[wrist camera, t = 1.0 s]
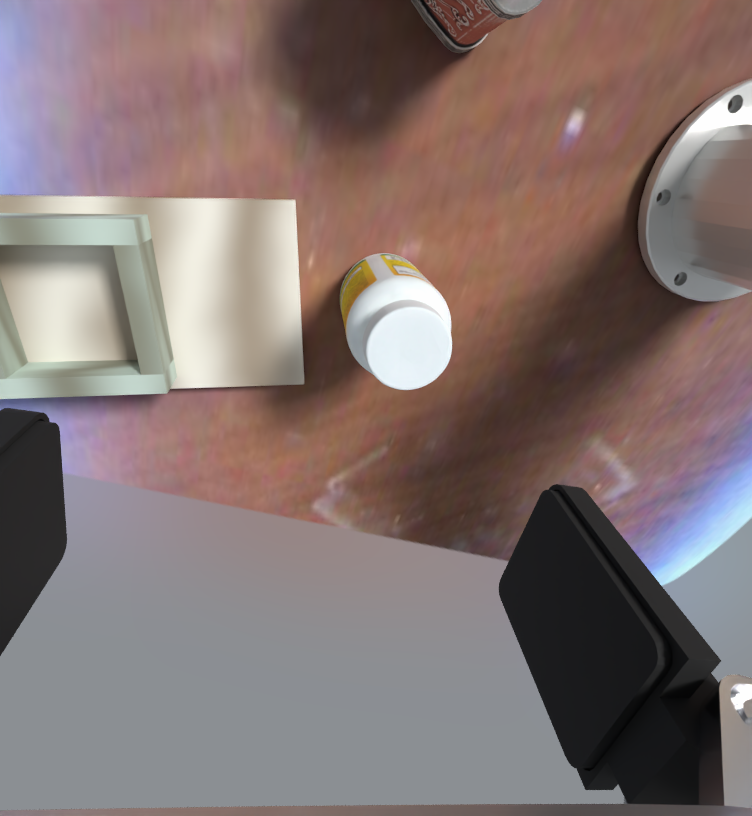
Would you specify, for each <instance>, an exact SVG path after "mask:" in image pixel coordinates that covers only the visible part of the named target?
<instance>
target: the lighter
mask: <svg viewBox="0 0 752 816" xmlns="http://www.w3.org/2000/svg"><path fill="white" fill-rule="evenodd" d="M411 1H412V3H413V4H414V6H415V7H416V9H417V11H418V12H419V14H420V15H421V17H422V18H423V20H424V21H425V23H426V24H427V25H428V26H429V27H430V29H431V30H432V31H433V32H434V33H435V35H436V36H437V37H438V38H439V39H440V41H441V42H442V43H443V44H444V45H445V47H446V48H448V49H449V50H450V51H452V52H456V53H463V52H467V51H469V50H471V49H472V48H474V47H475V46H477V45H478V44H480V43H481V42H482V41H483V40H484V39H485V37H486V36H487V35H488V33H489V32H490V31H492V30H493V29H495V28H496V27H498V26H499V25H501V24H502V23H504V22H505V21H507V20H510V19H514V18H519V17H521V16H522V15H524V14H525V13H527V12H528V11H530V10H531V9H533V8H534V7H536V6H537V5H539V3H540V2H541V1H542V0H411Z"/></svg>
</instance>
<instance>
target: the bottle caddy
mask: <svg viewBox="0 0 752 816" xmlns="http://www.w3.org/2000/svg"><path fill="white" fill-rule="evenodd" d="M301 384H304V362H303V342H302V322H301V301H300V281H299V261H298V241H297V220H296V200H295V199H240V198H178V197H115V196H52V195H0V399H18V398H48V397H77V396H107V395H136V394H166V393H168V391H169V390H170V389H178V388H209V387H240V386H270V385H301Z"/></svg>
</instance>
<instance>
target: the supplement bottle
mask: <svg viewBox="0 0 752 816" xmlns="http://www.w3.org/2000/svg"><path fill="white" fill-rule="evenodd" d="M340 308H341V312H342V317H343V322H344V327H345V332H346V337H347V341H348V345H349V348H350V350H351V352H352V354H353V356H354V357H355V359H356V360H357V361H358V363H359V364H360V365H361V366H362V367H363V368H365V369H366V370H367V371H369V372H370V373H372V374H374V376H375V377H376V378H377V379H378V380H379V381H381V382H382V383H383V384H385V385H387V386H389V387H392V388H395V389H399V390H412V389H417V388H421V387H423V386H425V385H427V384H429V383H431V382H432V381H434V380H435V379H436V378H437V377H438V376H439V375H440V374H441V373H442V372H443V371H444V369H445V368H446V366H447V364H448V362H449V360H450V356H451V352H452V338H451V316H450V312H449V309H448V306H447V304H446V302H445V300H444V298H443V297H442V295H441V294H440V293H439V292H438V291H437V289H436V288H435V287H434V286H433V285H432V284H431V283H430V282H429V281H428V280H427V279H426V278H425V277H424V276H423V275H422V274H421V272H420V271H419V270H418V269H417V268H416V267H415V266H414V265H413V264H411V263H410V262H409V261H408V260H406V259H404V258H402V257H400V256H398V255H394V254H388V253H380V254H374V255H371V256H368V257H366V258H364V259H362V260H360V261H359V262H357V263H356V264H355V265H354V266H353V267H352V268H351V270H350V271H349V272H348V274H347V275H346V277H345V279H344V281H343V283H342V286H341V291H340Z"/></svg>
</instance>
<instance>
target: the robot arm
mask: <svg viewBox="0 0 752 816" xmlns="http://www.w3.org/2000/svg"><path fill="white" fill-rule="evenodd" d="M638 240H639V245H640V250H641V254H642V258H643V260H644V262H645V264H646V266H647V268H648V270H649V272H650V274H651V275H652V276H653V277H654V278H655V279H656V281H657V282H658V283H659V284H660V285H662V286H663V287H665V288H666V289H667V290H669V291H670V292H672V293H675V294H677V295H680V296H682V297H685V298H688V299H693V300H697V301H702V302H703V301H722V300H727V299H732V298H736V297H738V296H741V295H744V294H746V293H749V292H751V291H752V78H751V79H747V80H744V81H742V82H739V83H737V84H735V85H732V86H730V87H727V88H725V89H724V90H722V91H721V92H719V93H717V94H716V95H714V96H713V97H711V98H710V99H708V100H707V101H705V102H704V103H703V104H702V105H701V106H699V107H698V108H697V109H696V110H695V111H694V112H693V113H692V114H690V115H689V116H688V117H687V118H686V119H685V120H684V122H683V123H682V124H681V125H680V126H679V128H678V129H677V130H676V131H675V132H674V133H673V135H672V136H671V137H670V139H669V140H668V142H667V143H666V145H665V146H664V148H663V150H662V151H661V153H660V154H659V156H658V157H657V159H656V161H655V164H654V166H653V168H652V170H651V172H650V175H649V177H648V179H647V182H646V185H645V188H644V192H643V195H642V199H641V202H640V210H639V217H638ZM65 520H66V519H65V504H64V489H63V474H62V459H61V444H60V431H59V427H58V425H57V424H56V423H52V422H49V418H48V416H47V415H46V414H44V413H40V412H33V411H26V410H19V409H11V408H4V409H3V410H1V411H0V656H1V654H2V652H3V651H4V649H5V648H6V646H7V645H8V643H9V641H10V640H11V638H12V637H13V635H14V634H15V632H16V630H17V629H18V627H19V626H20V624H21V623H22V621H23V620H24V618H25V616H26V615H27V613H28V612H29V610H30V609H31V607H32V605H33V604H34V602H35V600H36V599H37V598H38V596H39V594H40V593H41V591H42V590H43V588H44V587H45V585H46V583H47V582H48V580H49V579H50V577H51V576H52V574H53V572H54V571H55V569H56V567H57V566H58V565H59V563H60V561H61V560H62V557H63V555H64V552H65V549H66V544H67V534H66V521H65ZM499 595H500V598H501V601H502V603H503V606H504V608H505V611H506V613H507V615H508V618H509V620H510V623H511V625H512V628H513V630H514V632H515V635H516V637H517V640H518V642H519V644H520V647H521V649H522V652H523V654H524V657H525V659H526V662H527V664H528V666H529V669H530V671H531V674H532V676H533V678H534V681H535V683H536V685H537V688H538V691H539V693H540V696H541V698H542V700H543V703H544V705H545V707H546V710H547V713H548V715H549V717H550V720H551V722H552V725H553V727H554V730H555V732H556V734H557V737H558V739H559V742H560V744H561V746H562V749H563V751H564V754H565V756H566V758H567V760H568V762H569V763H570V764H571V766H573V767H574V768H577V771H578V773H579V776H580V778H581V780H582V783H583V785H584V787H585V789H586V790H613V789H614V788H615V787H616V786H617V785H618V784H619V786H620V788H621V791H622V793H623V795H624V797H625V798H624V804H496V805H495V804H491V805H490V804H485V805H484V804H482V805H481V804H479V805H477V804H476V805H362V806H361V805H360V806H267V807H265V806H262V807H260V806H258V807H189V808H188V807H187V808H127V809H126V808H121V809H55V810H54V809H51V810H2V811H0V816H752V678H749V677H746V676H741V675H727V676H726V677H724V678H723V679H722V680H721V681H720V682H719V683H718V682H717V680H716V679H715V678H714V676H713V675H712V674H711V672H712V671H713V670H714V669H715V668H716V666H717V665H718V664H719V663H720V662H721V660H720V659H719V658H718V656H717V655H716V654H715V652H713V650H712V649H711V648H710V646H709V645H708V644H707V643H706V641H705V640H704V639H703V637H702V636H701V635H700V634H699V632H698V631H697V630H696V629H695V627H694V626H693V625H692V624H691V622H690V621H689V620H688V619H687V617H686V616H685V615H684V614H683V612H682V611H681V610H680V609H679V607H678V606H677V605H676V604H675V602H674V601H673V600H672V599H671V598H670V596H669V595H668V594H667V592H666V591H665V590H664V589H663V587H662V586H661V585H660V584H659V582H658V581H657V580H656V579H655V577H654V576H653V575H652V574H651V572H650V571H649V570H648V569H647V567H646V566H645V565H644V564H643V562H642V561H641V560H640V559H639V557H638V556H637V555H636V554H635V552H634V551H633V550H632V549H631V547H630V546H629V545H628V544H627V542H626V541H625V540H624V539H623V537H622V536H621V535H620V533H619V532H618V531H617V530H616V528H615V527H614V526H613V525H612V523H611V522H610V521H609V520H608V518H607V517H606V516H605V515H604V513H603V512H602V511H601V510H600V508H599V507H598V506H597V505H596V503H595V502H594V501H593V500H592V498H591V497H590V496H589V495H588V493H587V492H586V491H585V490H584V489H583V488H579V487H572V486H565V485H558V484H556V485H553V486H551V487H550V488H549V490H545V491H543V492H542V494H541V495H540V497H539V499H538V501H537V504H536V506H535V508H534V510H533V512H532V514H531V516H530V518H529V520H528V523H527V525H526V527H525V529H524V531H523V533H522V535H521V537H520V539H519V541H518V544H517V546H516V548H515V550H514V552H513V554H512V556H511V558H510V560H509V563H508V565H507V567H506V569H505V571H504V573H503V575H502V577H501V580H500V583H499Z"/></svg>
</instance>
